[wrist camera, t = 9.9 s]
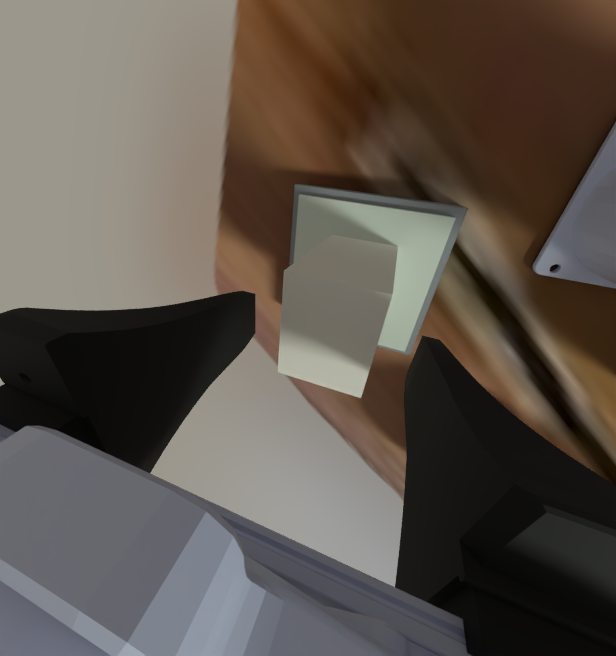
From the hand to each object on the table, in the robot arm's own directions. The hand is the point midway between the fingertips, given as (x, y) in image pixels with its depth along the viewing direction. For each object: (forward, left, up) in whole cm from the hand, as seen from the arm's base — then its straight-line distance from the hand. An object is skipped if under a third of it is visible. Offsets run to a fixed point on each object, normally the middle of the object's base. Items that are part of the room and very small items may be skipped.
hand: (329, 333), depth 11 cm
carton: (0, 0, -7) cm, 7 cm away
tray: (0, 0, -10) cm, 10 cm away
